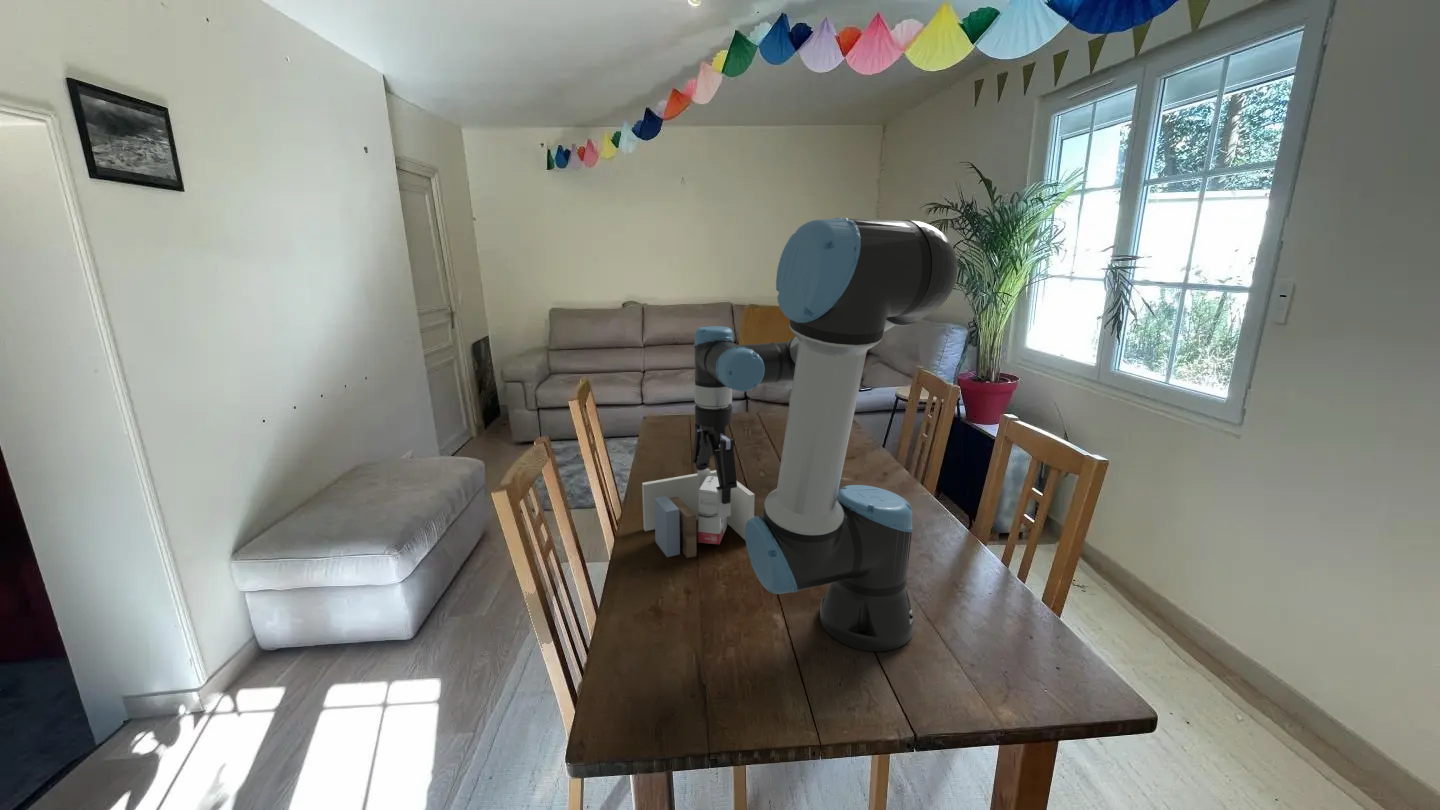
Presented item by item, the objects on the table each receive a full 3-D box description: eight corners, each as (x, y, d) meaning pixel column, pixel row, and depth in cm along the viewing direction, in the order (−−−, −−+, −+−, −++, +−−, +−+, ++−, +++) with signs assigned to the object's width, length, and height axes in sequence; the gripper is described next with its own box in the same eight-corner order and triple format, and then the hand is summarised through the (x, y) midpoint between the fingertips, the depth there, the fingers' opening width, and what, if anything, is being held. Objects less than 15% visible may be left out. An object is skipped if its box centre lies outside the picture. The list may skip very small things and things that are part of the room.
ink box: (720, 545, 120) (720, 492, 117) (697, 543, 121) (696, 490, 118) (728, 526, 129) (728, 476, 126) (706, 524, 130) (706, 474, 127)
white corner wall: (753, 542, 124) (754, 494, 121) (668, 562, 116) (667, 511, 113) (721, 512, 138) (721, 469, 135) (643, 528, 130) (642, 482, 127)
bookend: (696, 555, 119) (696, 515, 116) (687, 557, 118) (686, 517, 115) (678, 534, 127) (677, 496, 125) (669, 536, 126) (668, 498, 124)
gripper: (756, 416, 109) (754, 525, 115) (708, 390, 128) (708, 484, 134) (720, 420, 106) (719, 532, 112) (676, 393, 125) (677, 490, 131)
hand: (713, 506), depth 123 cm, fingers closed on ink box, 9 cm apart
